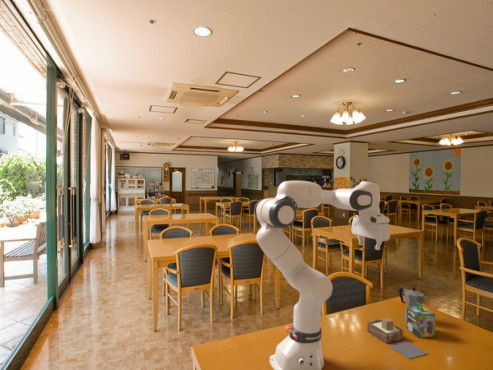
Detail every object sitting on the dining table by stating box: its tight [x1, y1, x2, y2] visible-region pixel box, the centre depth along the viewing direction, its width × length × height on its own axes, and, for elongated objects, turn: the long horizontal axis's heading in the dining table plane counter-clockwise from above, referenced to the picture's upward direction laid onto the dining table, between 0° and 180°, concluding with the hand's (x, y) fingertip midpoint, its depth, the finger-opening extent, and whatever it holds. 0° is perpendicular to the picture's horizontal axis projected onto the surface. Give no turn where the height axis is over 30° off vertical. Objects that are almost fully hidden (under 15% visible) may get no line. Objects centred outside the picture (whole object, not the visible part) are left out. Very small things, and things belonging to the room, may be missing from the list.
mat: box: [387, 340, 429, 360], centre depth 131 cm, size 11×11×1 cm
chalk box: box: [406, 302, 437, 339], centre depth 146 cm, size 9×9×15 cm
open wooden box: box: [367, 318, 404, 345], centre depth 143 cm, size 10×12×5 cm
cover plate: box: [372, 317, 400, 334], centre depth 143 cm, size 9×10×5 cm
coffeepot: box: [398, 286, 427, 322], centre depth 160 cm, size 15×9×18 cm, turn 29°
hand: (369, 247), depth 134 cm, fingers open, 8 cm apart
